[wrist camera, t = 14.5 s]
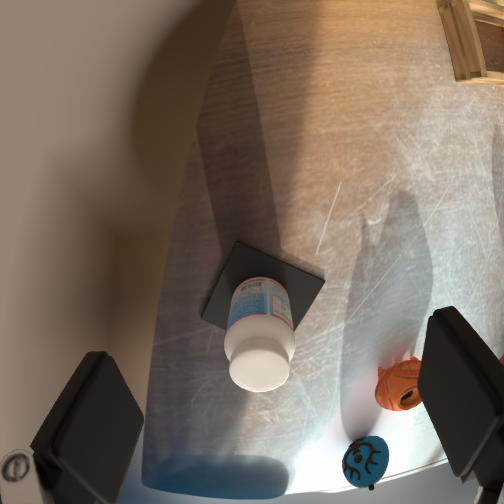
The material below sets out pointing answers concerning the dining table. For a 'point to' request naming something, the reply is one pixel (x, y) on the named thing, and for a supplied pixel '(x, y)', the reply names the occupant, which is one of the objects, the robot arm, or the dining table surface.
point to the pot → (399, 386)
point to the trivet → (260, 265)
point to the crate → (470, 39)
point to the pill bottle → (259, 335)
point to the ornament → (366, 461)
